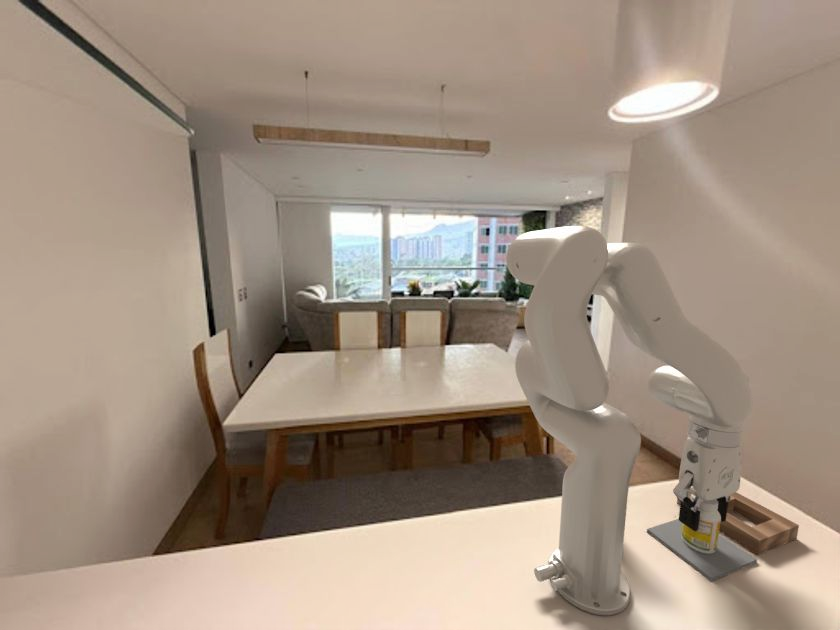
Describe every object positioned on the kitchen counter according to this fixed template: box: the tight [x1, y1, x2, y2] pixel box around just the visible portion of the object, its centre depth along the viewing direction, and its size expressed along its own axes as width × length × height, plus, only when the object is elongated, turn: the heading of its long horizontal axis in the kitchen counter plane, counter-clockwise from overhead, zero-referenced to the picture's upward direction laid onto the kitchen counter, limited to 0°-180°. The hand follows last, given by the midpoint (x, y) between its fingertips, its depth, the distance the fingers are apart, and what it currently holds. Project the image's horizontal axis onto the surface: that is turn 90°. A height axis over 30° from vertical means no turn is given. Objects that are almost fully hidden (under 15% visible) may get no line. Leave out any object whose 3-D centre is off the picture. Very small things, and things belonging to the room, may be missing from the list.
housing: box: [676, 486, 800, 556], centre depth 75 cm, size 12×15×3 cm
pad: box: [646, 518, 758, 582], centre depth 68 cm, size 12×12×1 cm
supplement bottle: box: [682, 494, 721, 554], centre depth 68 cm, size 5×5×10 cm
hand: (702, 520), depth 68 cm, fingers open, 6 cm apart
